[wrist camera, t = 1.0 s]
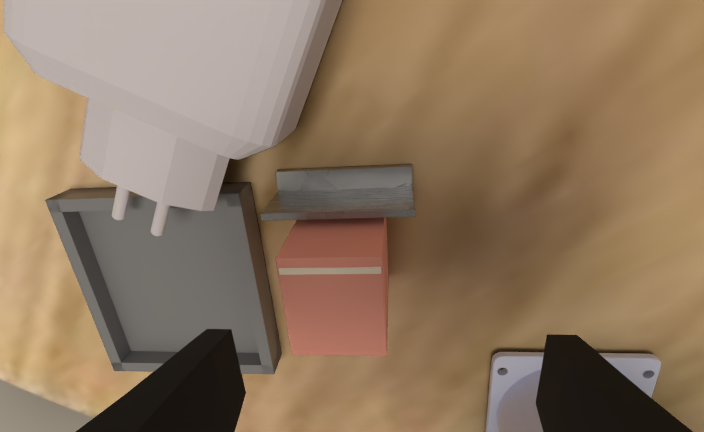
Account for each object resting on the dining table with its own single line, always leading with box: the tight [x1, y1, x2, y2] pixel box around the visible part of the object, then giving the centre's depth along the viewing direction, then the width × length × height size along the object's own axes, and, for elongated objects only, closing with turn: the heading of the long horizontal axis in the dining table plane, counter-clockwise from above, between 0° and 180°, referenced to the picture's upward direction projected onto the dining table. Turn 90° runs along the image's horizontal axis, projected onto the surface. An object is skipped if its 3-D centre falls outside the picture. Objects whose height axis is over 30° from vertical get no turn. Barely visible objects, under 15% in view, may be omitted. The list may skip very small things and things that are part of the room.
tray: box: [45, 182, 282, 374], centre depth 20 cm, size 10×9×2 cm
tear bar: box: [261, 164, 415, 221], centre depth 16 cm, size 1×6×3 cm, turn 94°
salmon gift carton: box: [276, 217, 389, 356], centre depth 16 cm, size 4×4×6 cm
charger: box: [3, 0, 342, 236], centre depth 14 cm, size 5×9×15 cm
